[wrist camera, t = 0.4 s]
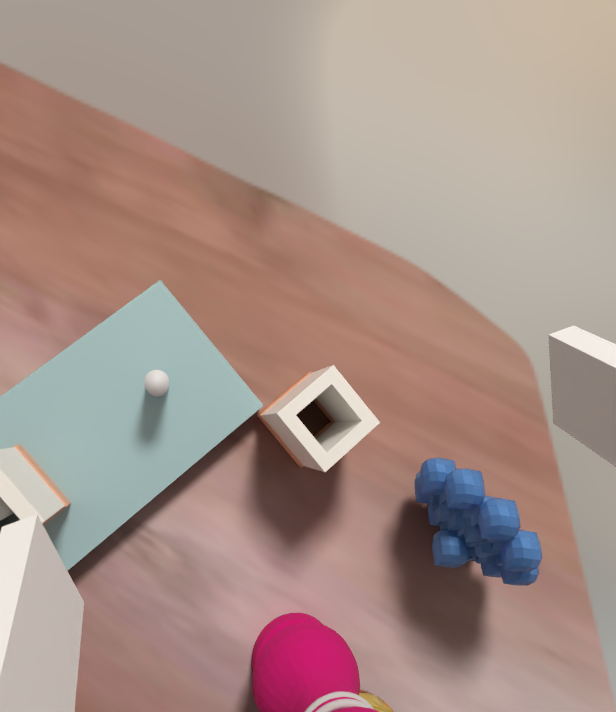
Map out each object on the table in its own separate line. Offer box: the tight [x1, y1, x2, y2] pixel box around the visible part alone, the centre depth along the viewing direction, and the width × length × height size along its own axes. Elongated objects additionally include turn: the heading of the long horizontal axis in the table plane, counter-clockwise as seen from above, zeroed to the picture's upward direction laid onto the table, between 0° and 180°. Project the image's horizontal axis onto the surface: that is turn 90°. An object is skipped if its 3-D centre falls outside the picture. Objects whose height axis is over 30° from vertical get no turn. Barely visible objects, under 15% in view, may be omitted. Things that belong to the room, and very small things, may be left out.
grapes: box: [415, 458, 542, 585], centre depth 42 cm, size 12×7×12 cm, turn 42°
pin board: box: [0, 280, 263, 571], centre depth 40 cm, size 12×22×6 cm, turn 130°
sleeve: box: [257, 365, 380, 472], centre depth 43 cm, size 5×5×8 cm
